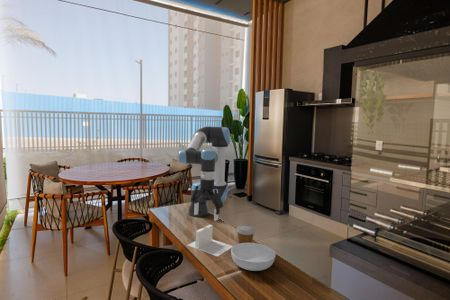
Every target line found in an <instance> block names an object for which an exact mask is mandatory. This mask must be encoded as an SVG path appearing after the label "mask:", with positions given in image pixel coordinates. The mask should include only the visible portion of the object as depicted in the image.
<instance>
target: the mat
mask: <svg viewBox="0 0 450 300" xmlns="http://www.w3.org/2000/svg"><path fill="white" fill-rule="evenodd" d="M187 246H188V247H190V248H194V249H196V250H199V251H202V252H205V253H207V254H209V255H212V256H215V257H217V258H219V257H221V256H222V255H224V254H225V253H226V254H227V252H229V251H231V249H232V247H233V246H234V245H231V244H228V243H225V242H222V241H219V240H215V239H213V238H212V242H210V243H208V244H206V245H204V246H202V247H201V248H199V249H198V248H195V240H194V241H193V242H190V243H189V244H187Z"/></svg>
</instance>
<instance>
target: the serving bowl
mask: <svg viewBox="0 0 450 300" xmlns="http://www.w3.org/2000/svg"><path fill="white" fill-rule="evenodd" d="M232 246H233V247H232V249H231V248H230V253H231V258H232V260H233V262H234V263H235V264H236V265H237V266H238V267H240V268H241V269H244V270H248V271H252V272H257V271H258V272H260V271H264V270H267V269H269V268H270V267H271V266H272V265H273V263H274V262H275V259H276V252H275V250H274V249H272V248H271V247H270V246H267V245H264V244H261V243H257V242H252V243H240V244H238V243H237V244H234V245H232Z"/></svg>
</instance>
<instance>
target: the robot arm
mask: <svg viewBox="0 0 450 300" xmlns="http://www.w3.org/2000/svg"><path fill="white" fill-rule="evenodd" d="M204 144H211V147H212V148H213V149H202V151H201V148H202V147H203V145H204ZM229 145H231V133H230V129H229V128H228V127H226V126H209V125H208V126H203V127H201V128H199V129H197V130H196V131H195V132H194V133H193V134H192V139H191V140H190V142H189V144H188V146H187V147H186V149H183V150H182V149H181V150H179V152H178V158H177V159H178V162H179V163H180V164H187V165H188V164H189V165H200V181H198V182H194V183H192V185H191V190H190V191H191V192H190V193H191V194H190V195H191V196H190V205H189V206H188V207H189V208H188V212H187V213H188V215H189V216H191V217H196V218H197V217H198V218H201V217H202V218H203V217H206V216H208V215H209V213H210V210H209V207H208V201H211V202H212V204H213V206H214V213H213V214H214V215H213V221H214V222H216V221H218V220H219V215H220V209H222V208H224V205H223V202H225V201H227V197H228V191H229V185H227V182H226V181H225V174H226V173H225V172H226V154H227V153H226V152H227V150H226V149H227V148H228V147H229Z"/></svg>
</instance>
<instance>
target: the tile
mask: <svg viewBox="0 0 450 300" xmlns="http://www.w3.org/2000/svg"><path fill="white" fill-rule="evenodd" d="M213 230H214V229H213V225H212V224H208V225H206V226H204V227H202V228H201V227H200V228H199V229H197V230H195V240H194V241H195V248H194V249H196V248H198V249H199V248H201V247H202V246H204V245H206V244H208V243H210V242H212V239H213ZM198 249H197V250H198Z"/></svg>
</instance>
